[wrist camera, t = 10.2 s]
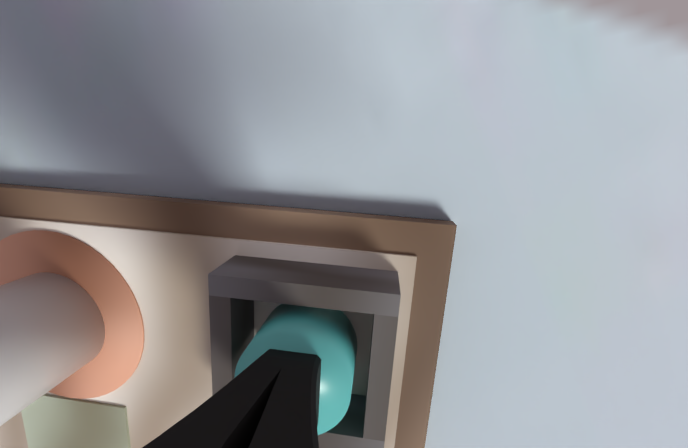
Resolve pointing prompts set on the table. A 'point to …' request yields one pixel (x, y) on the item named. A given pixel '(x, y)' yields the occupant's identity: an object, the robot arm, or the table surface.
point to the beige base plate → (224, 307)
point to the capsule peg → (43, 337)
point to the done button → (312, 352)
